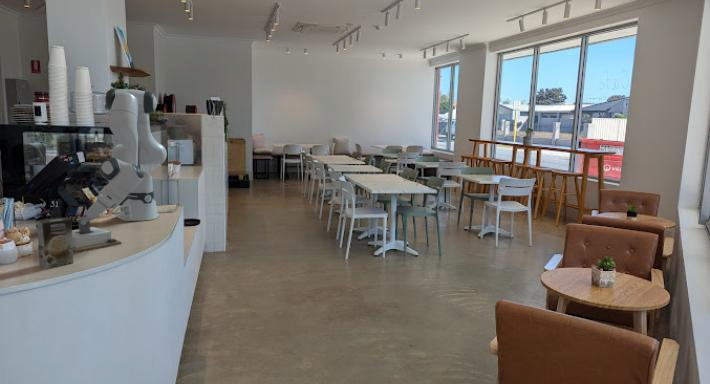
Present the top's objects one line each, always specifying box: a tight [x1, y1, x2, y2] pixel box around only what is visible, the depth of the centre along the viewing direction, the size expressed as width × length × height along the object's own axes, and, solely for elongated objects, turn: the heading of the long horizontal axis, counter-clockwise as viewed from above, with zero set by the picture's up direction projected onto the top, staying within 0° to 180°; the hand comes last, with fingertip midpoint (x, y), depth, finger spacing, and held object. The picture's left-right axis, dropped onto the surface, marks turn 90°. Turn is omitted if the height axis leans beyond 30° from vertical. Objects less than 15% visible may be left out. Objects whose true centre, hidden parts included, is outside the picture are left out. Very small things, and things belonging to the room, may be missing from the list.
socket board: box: [73, 238, 122, 254], centre depth 199 cm, size 22×18×2 cm
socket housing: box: [72, 226, 112, 248], centre depth 198 cm, size 14×14×4 cm
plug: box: [77, 216, 91, 234], centre depth 198 cm, size 4×4×10 cm
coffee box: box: [36, 217, 74, 269], centre depth 170 cm, size 9×6×16 cm
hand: (85, 221), depth 198 cm, fingers open, 8 cm apart
